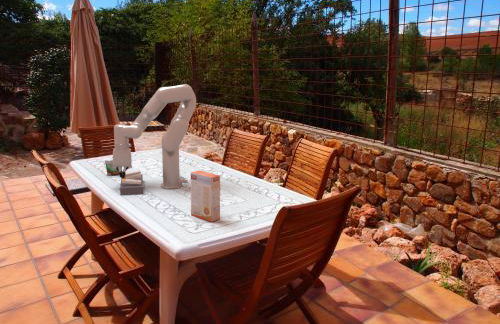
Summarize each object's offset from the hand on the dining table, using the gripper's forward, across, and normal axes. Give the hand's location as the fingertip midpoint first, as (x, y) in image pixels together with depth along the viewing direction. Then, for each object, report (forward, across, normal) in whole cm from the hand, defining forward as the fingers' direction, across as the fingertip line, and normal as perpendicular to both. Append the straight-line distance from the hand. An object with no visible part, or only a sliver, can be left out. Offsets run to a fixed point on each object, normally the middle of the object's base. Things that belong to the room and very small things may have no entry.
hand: (122, 178), depth 225 cm
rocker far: (0, -5, -9) cm, 10 cm away
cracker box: (+5, -38, +57) cm, 69 cm away
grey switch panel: (+6, -5, -2) cm, 8 cm away
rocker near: (0, -5, +9) cm, 10 cm away
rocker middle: (0, -5, 0) cm, 5 cm away
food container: (+6, +5, -32) cm, 33 cm away
